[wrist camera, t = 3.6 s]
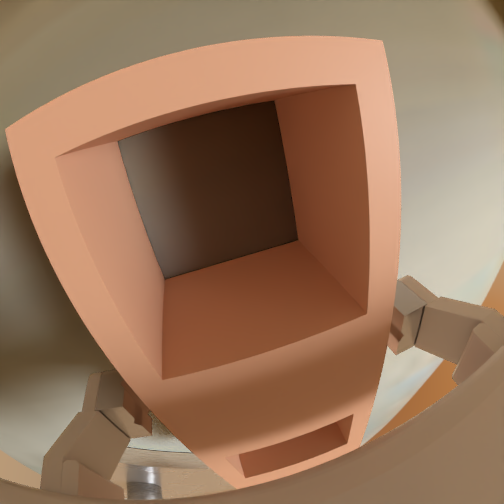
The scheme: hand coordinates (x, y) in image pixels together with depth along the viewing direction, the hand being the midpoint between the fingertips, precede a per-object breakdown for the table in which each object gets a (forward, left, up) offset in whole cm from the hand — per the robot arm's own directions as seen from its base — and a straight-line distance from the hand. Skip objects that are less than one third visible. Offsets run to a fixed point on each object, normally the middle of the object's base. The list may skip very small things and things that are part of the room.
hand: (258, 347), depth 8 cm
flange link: (0, 0, -2) cm, 2 cm away
